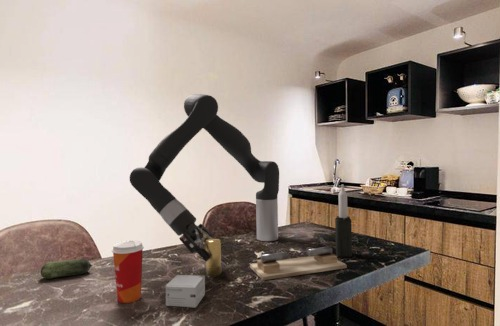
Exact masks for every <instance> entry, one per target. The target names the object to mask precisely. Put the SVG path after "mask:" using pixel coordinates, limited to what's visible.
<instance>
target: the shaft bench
mask: <svg viewBox="0 0 500 326" xmlns="http://www.w3.org/2000/svg"><path fill="white" fill-rule="evenodd" d="M347 266H348V265H347V264H346V263H344V262H342V261H340V259H339V260H338V256H337V255H335V254H334V253H332V254H327V255H319V256H312V257H309V256H308V255H307V256H302V257H301V256H300V257H295V258H287V260H281V261H273V262H265V263H262V262H261V259H257V260H256V262H255V263H254V262H253V263H249V267H250V269H251V270H252V271H253V272H254V273H255V274H256V275H257V276H258V277H259V278H260V279H261V280H262V281H267V280H273V279H274V280H275V279H281V278H287V277H293V276H294V277H295V276H300V275H301V276H302V275H307V274H308V275H309V274H315V273H321V272H330V271H334V270H342V269H347V268H348V267H347Z"/></svg>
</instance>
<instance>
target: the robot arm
mask: <svg viewBox="0 0 500 326" xmlns="http://www.w3.org/2000/svg"><path fill="white" fill-rule="evenodd" d="M183 109H184V112H185V114H186V116H187V118H186V119H185V120H184V121H183V122H182V123H181V124H180V125H179V126H178V127H176V128H175V129H173V131H171V132H170V133H169V134H167V135H166V136H165V137H164V138H163V139H162V140H160V142H159V143H158V144H157V145H156V147H155V148H154V149H153V150H152V151H151V152H150V154H149V156H148V161H147V163H146V165H144V167H142V166H141V167H136V168H134V169H133V170H132V171H131V172H130V174H129V183H130V185H131V186H132V187H133V188H134V190H136V191H137V192H138V193H139V194H140V195H141V196H142V197H143V198H144V199H145V200H146V201H148V203H149V205H150V206H151V207H152V208H153V210H155V211H156V213H157V214H159V216H160V217H161V218H162V220H163V221H164V222H165V223H166V224H167V225H168V226H169V228H170V229H171V230H172V231H173V232H174V233H175V234H176V235H177V236H178V237H179V236H180V237H179V240H180V242H181V243H182V244H183V245H184V246H185V248H186V249H187V251H189V252H190V253H192V254H194V253H195V254H198V255H199V257H201V259H203V261H205V262H206V261H208V260H209V259H210V258H211V255H210V254H209V253H208V252H207V251H206V248H205V247H203V246H202V243H204V245H206V240H208V239H214V238H213V237H214V235H213V234H212V233H211V231H210V230H208V229H207V228H206V227H205V226H204V225H203V224H202V223H199V224H198V225H197V224H196V221H197V218H196V217H195V216H194V215H193V213H192V212H191V211H190V210H189V209H188V208H187V207H186V206H185V205H184V204H183V203H182V202H181V201H180V200H179V199H177V198H176V197H175V196H174V195H173V194H172V192H171V191H170V190H169V189H167V188H166V187H165V186H164V185H163V183H161V182H160V181H161V179H162V178H163V175H164V173H165V172H166V170H167V169H168V168H169V166H171V164H172V163H173V161H174V160H175V159H176V157H178V155H179V154H180V152H181V151H182V150H183V149H184V148H185V147H186V146H187V145H188V144H189V142H191V141H192V139H193V138H194V137H196V136H197V134H199V132H201V131H202V129H204V131H206V132H207V133H208V134H209V135H210V136H211V137H212V139H214V140H215V142H217V143H218V145H220V146H221V148H223V149H224V150H225V151H226V153H228V154H229V155H230V156H231V157H232V158H234V160H236V162H238V164H240V165H241V166H242V168H243V169H244V170H245V171H246V173H248V175H249V176H250V177H251V178H252V179H253V181H255V182H257V183H262V184H263V188H262V189H261V190H258V191H257V192H256V193H255V207H256V208H255V212H256V213H255V215H256V216H255V217H256V218H255V219H256V222H255V223H256V240H257V241H260V242H273V241H277V240H279V215H278V214H279V212H278V210H279V209H278V207H279V206H278V205H279V204H278V194H279V191H280V168H279V165H278V163H276V162H275V161H270V160H269V161H267V160H266V161H265V160H263V161H261V160H259V159H258V158H256V156H254V155H253V154H252V146H251V143H250V141H249V139H248V138H247V137H246V135H244V133H242V132H241V130H239V129H238V128H237V127H236V126H234V125H233V124H231V123H229V122H228V121H226V120H224V119H223V118H221V117H220V116H219V115H218V112H219V104H218V101H217V99H216V98H215V97H213V96H212V95H210V94H202V93H200V94H199V93H195V94H191V95H188V96H186V98H185V100H184V102H183Z"/></svg>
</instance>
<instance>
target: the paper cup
mask: <svg viewBox="0 0 500 326" xmlns="http://www.w3.org/2000/svg"><path fill="white" fill-rule="evenodd" d="M144 248H145V247H144V245H143V243H142V241H140V240H135V241H134V240H129V241H128V240H125V241H120V242H117V243H115V244H113V246H112V249H111V252H112V254H113V265H114V276H115V277H114V278H115V286H116V296H117V301H118V303H121V304H130V303H134V302H137V301H138V300H140V299H141V297H142V285H143V284H142V282H143V281H142V279H143V276H142V275H143V249H144Z"/></svg>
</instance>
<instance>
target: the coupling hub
mask: <svg viewBox="0 0 500 326" xmlns="http://www.w3.org/2000/svg"><path fill="white" fill-rule="evenodd" d="M221 243H222V241H221V239H219V238H213V239H208V240H206V244H205V250H206V251H207V252H208V253H209V254H210V255H211V258H210V259H209V260H208V261H205V267H206V268H205V270H206V271H205V274H206V275H207V276H210V277H215V276H220V275H221V274H222V250H221V249H222V248H221V246H222V245H221Z"/></svg>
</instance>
